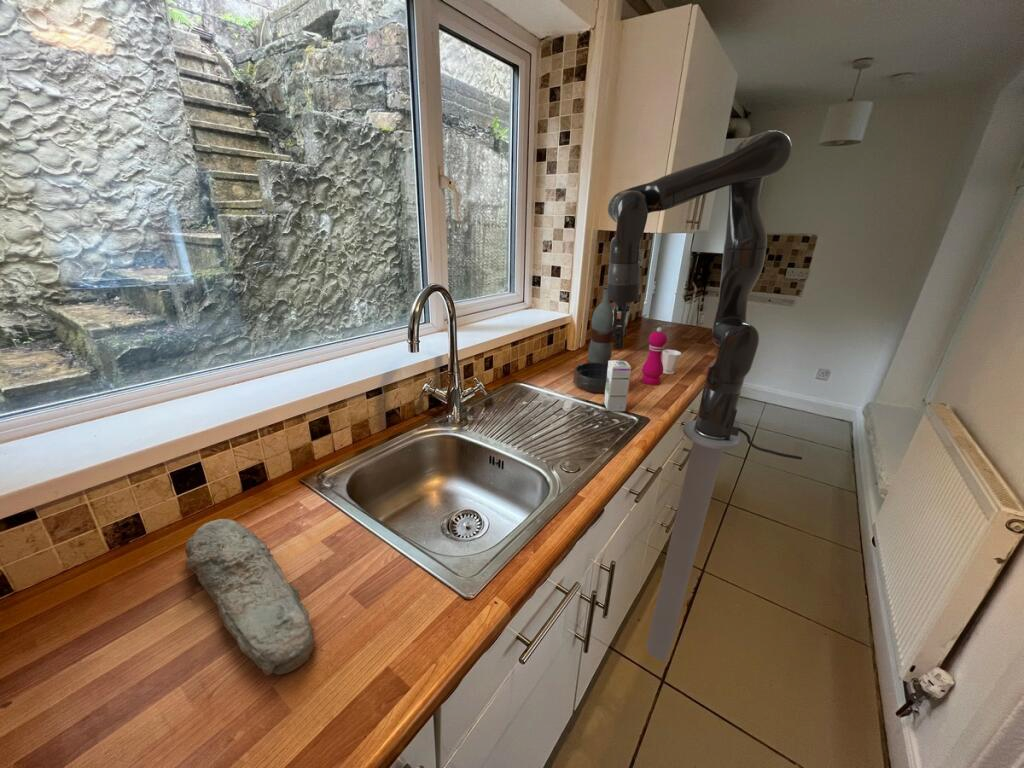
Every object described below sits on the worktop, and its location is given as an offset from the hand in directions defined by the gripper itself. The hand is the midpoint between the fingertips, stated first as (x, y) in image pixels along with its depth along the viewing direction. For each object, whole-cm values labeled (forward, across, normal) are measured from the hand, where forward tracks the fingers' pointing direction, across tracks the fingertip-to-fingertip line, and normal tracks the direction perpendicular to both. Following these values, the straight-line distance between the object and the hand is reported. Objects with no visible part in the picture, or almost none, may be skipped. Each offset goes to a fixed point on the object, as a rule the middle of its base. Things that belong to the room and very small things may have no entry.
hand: (619, 343), depth 106 cm
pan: (+25, +26, +9) cm, 37 cm away
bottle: (+27, +51, +12) cm, 59 cm away
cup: (+29, +51, -15) cm, 60 cm away
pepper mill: (+27, +36, -8) cm, 46 cm away
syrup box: (+25, +9, +2) cm, 26 cm away
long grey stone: (+15, -78, +46) cm, 92 cm away
